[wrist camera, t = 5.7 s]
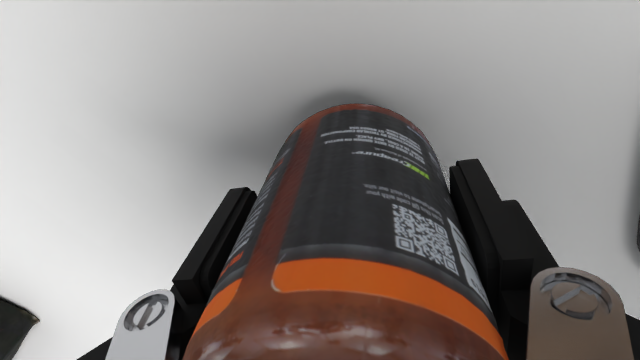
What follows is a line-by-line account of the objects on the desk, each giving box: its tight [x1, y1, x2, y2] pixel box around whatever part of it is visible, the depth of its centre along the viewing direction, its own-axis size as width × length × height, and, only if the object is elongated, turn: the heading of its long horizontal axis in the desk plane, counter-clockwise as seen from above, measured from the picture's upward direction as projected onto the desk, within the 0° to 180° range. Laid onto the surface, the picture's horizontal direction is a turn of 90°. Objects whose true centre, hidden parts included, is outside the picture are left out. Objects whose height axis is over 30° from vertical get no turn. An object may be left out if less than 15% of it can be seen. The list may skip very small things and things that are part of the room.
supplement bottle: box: [183, 103, 509, 360], centre depth 8 cm, size 6×6×11 cm
